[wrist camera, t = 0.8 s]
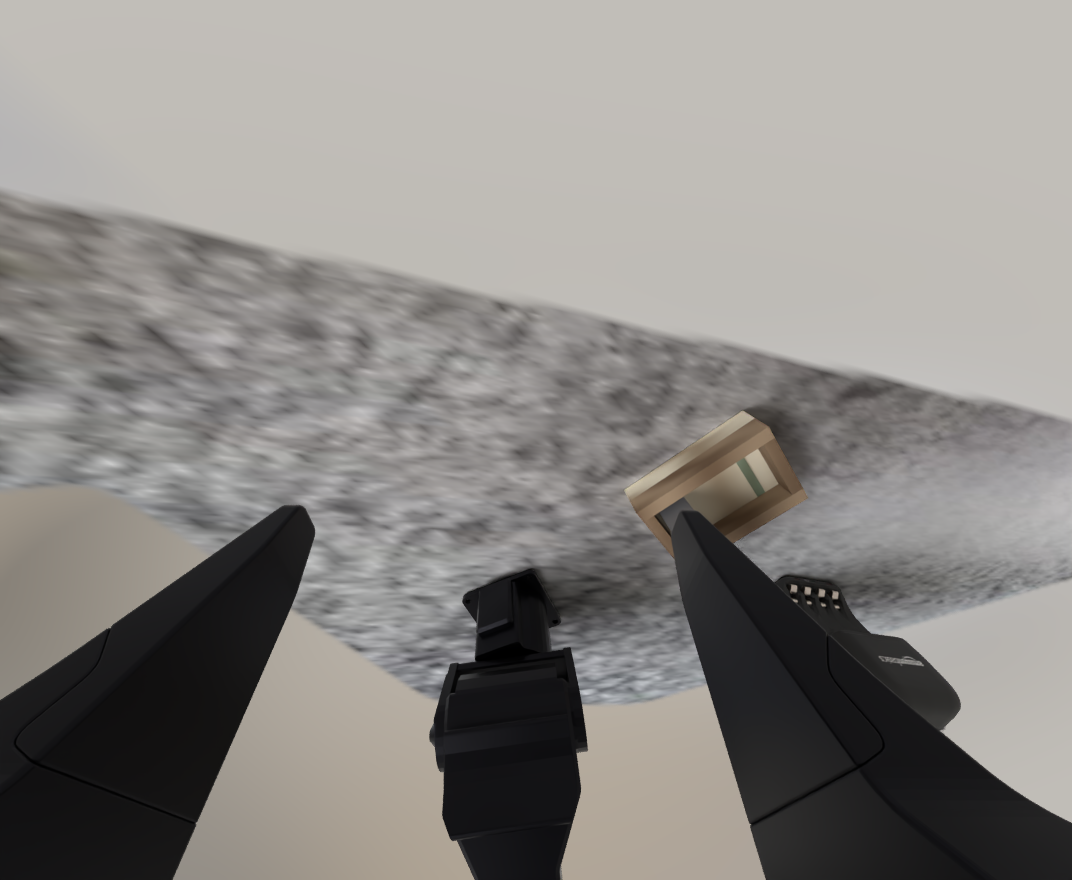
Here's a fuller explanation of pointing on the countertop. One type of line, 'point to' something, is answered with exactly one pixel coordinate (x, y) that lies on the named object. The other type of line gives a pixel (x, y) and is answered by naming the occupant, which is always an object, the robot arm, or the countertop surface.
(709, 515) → the tray
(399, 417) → the countertop surface
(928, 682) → the battery charger
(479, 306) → the countertop surface
